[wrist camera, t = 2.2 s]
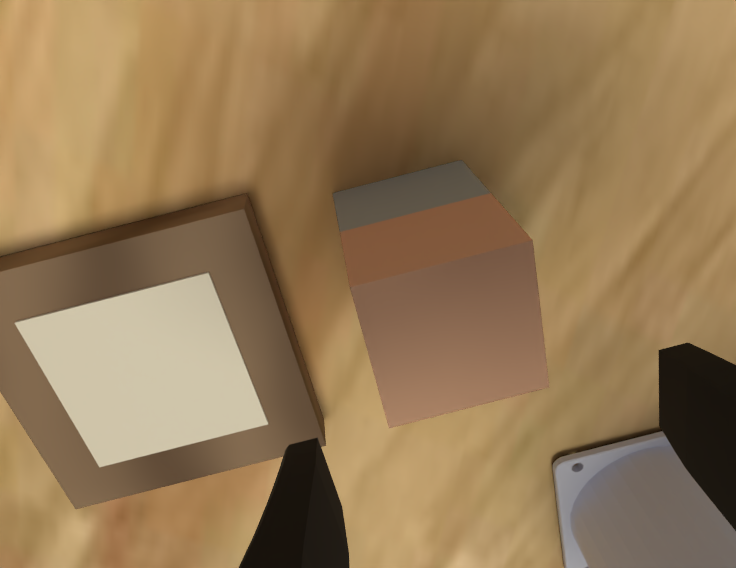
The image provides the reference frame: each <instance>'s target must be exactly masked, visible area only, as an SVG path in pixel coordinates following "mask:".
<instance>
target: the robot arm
mask: <svg viewBox="0 0 736 568" xmlns="http://www.w3.org/2000/svg"><path fill="white" fill-rule="evenodd" d="M659 426H660V428H661V429H662V431H661V432H657V433H653V434H649V435H645V436H641V437H637V438H633V439H629V440H625V441H622V442H618V443H614V444H610V445H606V446H602V447H598V448H594V449H590V450H586V451H582V452H578V453H574V454H570V455H566V456H562V457H560V458H558V459H557V460H555V462H554V463H553V476H554V484H555V493H556V501H557V510H558V518H559V526H560V535H561V543H562V552H563V560H564V568H736V365H734V364H732V363H730V362H728V361H726V360H724V359H722V358H720V357H718V356H716V355H714V354H712V353H709V352H707V351H705V350H703V349H701V348H699V347H697V346H694V345H692V344H690V343H685V344H681V345H677V346H673V347H669V348H665V349H661V350H659ZM576 463H578V464H577V465H574V464H576ZM573 465H574V466H573ZM239 568H349V552H348V544H347V537H346V530H345V523H344V517H343V510H342V505H341V502H340V500H339V497H338V494H337V491H336V488H335V486H334V483H333V480H332V477H331V474H330V471H329V469H328V466H327V463H326V460H325V457H324V454H323V452H322V449H321V446H320V443H319V440H318V437H317V438H313V439H310V440H306V441H302V442H298V443H294V444H290V445H288V447H287V448H286V450H285V453H284V456H283V459H282V462H281V466H280V469H279V472H278V475H277V478H276V481H275V483H274V486H273V489H272V492H271V494H270V497H269V500H268V502H267V505H266V507H265V510H264V512H263V515H262V517H261V519H260V522H259V524H258V527H257V529H256V532H255V534H254V536H253V538H252V541H251V543H250V545H249V547H248V549H247V551H246V553H245V555H244V558H243V560H242V562H241V564H240V566H239Z"/></svg>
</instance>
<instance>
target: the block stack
mask: <svg viewBox="0 0 736 568" xmlns="http://www.w3.org/2000/svg"><path fill="white" fill-rule="evenodd" d="M333 198H334V203H335V209H336V214H337V220H338V225H339V230H340V236H341V241H342V247H343V252H344V258H345V263H346V268H347V274H348V279H349V285H350V289H351V293H352V296H353V300H354V303H355V307H356V311H357V314H358V318H359V321H360V325H361V329H362V332H363V336H364V339H365V343H366V347H367V350H368V354H369V357H370V361H371V365H372V368H373V372H374V375H375V379H376V383H377V386H378V390H379V393H380V397H381V401H382V404H383V408H384V411H385V415H386V419H387V422H388V426H389V428H392V427H396V426H400V425H404V424H408V423H412V422H416V421H420V420H423V419H427V418H431V417H435V416H439V415H443V414H447V413H451V412H455V411H459V410H463V409H466V408H470V407H474V406H478V405H482V404H486V403H490V402H494V401H498V400H502V399H506V398H509V397H513V396H517V395H521V394H525V393H529V392H533V391H537V390H541V389H545V388H549V380H548V371H547V362H546V354H545V345H544V336H543V327H542V319H541V310H540V301H539V292H538V284H537V275H536V266H535V257H534V249H533V240H532V239H531V238H530V237H529V236H528V235H527V233H526V232H525V231H524V230H523V229H522V228H521V227H520V225H519V224H518V223H517V222H516V221H515V220H514V219H513V218H512V216H511V215H510V214H509V213H508V212H507V211H506V210H505V208H504V207H503V206H502V205H501V204H500V203H499V202H498V201H497V199H496V198H495V197H494V196H493V195H492V194H491V193H490V191H489V190H488V189H487V188H486V187H485V186H484V185H483V184H482V182H481V181H480V180H479V179H478V178H477V177H476V176H475V174H474V173H473V172H472V171H471V170H470V169H469V168H468V167H467V165H466V164H465V163H464V162H463V161H462V160H459V161H455V162H451V163H447V164H443V165H440V166H436V167H432V168H428V169H424V170H420V171H416V172H412V173H409V174H405V175H401V176H397V177H393V178H389V179H385V180H382V181H378V182H374V183H370V184H366V185H362V186H358V187H354V188H351V189H347V190H343V191H339V192H335V193H333Z"/></svg>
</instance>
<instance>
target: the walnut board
mask: <svg viewBox="0 0 736 568" xmlns="http://www.w3.org/2000/svg"><path fill="white" fill-rule="evenodd" d="M0 392H1V394H2V395H3V397H4V398H5V400H6V401H7V403H8V405H9V406H10V408H11V409H12V411H13V412H14V414H15V415H16V417H17V419H18V420H19V422H20V423H21V425H22V426H23V428H24V429H25V431H26V433H27V434H28V436H29V437H30V439H31V440H32V442H33V443H34V445H35V447H36V448H37V450H38V451H39V453H40V454H41V456H42V458H43V459H44V461H45V462H46V464H47V465H48V467H49V468H50V470H51V472H52V473H53V475H54V476H55V478H56V479H57V481H58V482H59V484H60V486H61V487H62V489H63V490H64V492H65V493H66V495H67V496H68V498H69V500H70V501H71V503H72V504H73V506H74V507H75V509H79V508H82V507H86V506H90V505H94V504H98V503H102V502H106V501H110V500H114V499H118V498H122V497H126V496H130V495H134V494H137V493H141V492H145V491H149V490H153V489H157V488H161V487H165V486H169V485H173V484H177V483H181V482H185V481H188V480H192V479H196V478H200V477H204V476H208V475H212V474H216V473H220V472H224V471H228V470H232V469H236V468H240V467H243V466H247V465H251V464H255V463H259V462H263V461H267V460H271V459H275V458H279V457H283V456H284V453H285V450H286V448H287V447H288V445H290V444H294V443H298V442H302V441H306V440H310V439H313V438H317V437H318V440H319V443H320V446H321V447H322V446H326V441H325V427H324V419H323V416H322V413H321V410H320V407H319V404H318V401H317V398H316V395H315V392H314V389H313V386H312V383H311V380H310V378H309V375H308V372H307V369H306V366H305V363H304V360H303V357H302V354H301V351H300V348H299V345H298V342H297V339H296V336H295V333H294V330H293V327H292V325H291V322H290V319H289V316H288V313H287V310H286V307H285V304H284V301H283V298H282V295H281V292H280V289H279V286H278V283H277V280H276V277H275V274H274V271H273V269H272V266H271V263H270V260H269V257H268V254H267V251H266V248H265V245H264V242H263V239H262V236H261V233H260V230H259V227H258V224H257V221H256V218H255V215H254V213H253V210H252V207H251V204H250V201H249V198H248V195H247V193H246V194H243V195H239V196H235V197H231V198H227V199H223V200H219V201H215V202H212V203H208V204H204V205H200V206H196V207H192V208H188V209H184V210H181V211H177V212H173V213H169V214H165V215H161V216H157V217H153V218H150V219H146V220H142V221H138V222H134V223H130V224H126V225H122V226H119V227H115V228H111V229H107V230H103V231H99V232H95V233H91V234H88V235H84V236H80V237H76V238H72V239H68V240H64V241H60V242H57V243H53V244H49V245H45V246H41V247H37V248H33V249H29V250H26V251H22V252H18V253H14V254H10V255H6V256H2V257H0Z"/></svg>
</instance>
